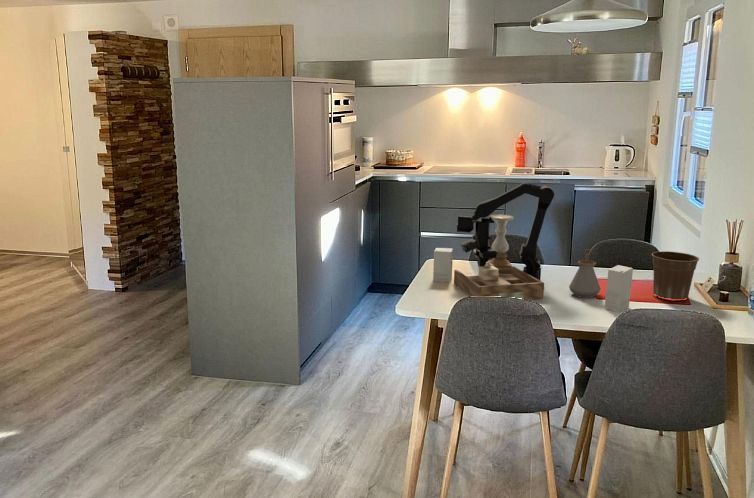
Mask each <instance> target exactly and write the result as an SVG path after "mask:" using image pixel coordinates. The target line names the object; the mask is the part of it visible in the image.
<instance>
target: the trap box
mask: <svg viewBox="0 0 754 498" xmlns="http://www.w3.org/2000/svg"><path fill="white" fill-rule="evenodd" d="M453 270H454V272H453V285H454V286H456V287H457V288H458V287H459V288H458V289H459V290H461V291H462V292H464V294H466V293H467V294H468V295H467V294H466V295H467V296H469V297H470V296H501V297H515V298H522V299H526V300H538V299H539V300H540V299H544V293H545V282H544V281H542V280H541V279H540V280H538V279H536V278H535V277H533V276H531V275H529V274H527V273H526V272H524V271H523V270H521V268H518V267H517V266H514V265H513V266H512V274H498V279H493V280H483V279H482V278H480V277H479V276H478V275H465V274H464V273H463V272H461V271H459V269H453Z"/></svg>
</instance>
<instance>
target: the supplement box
mask: <svg viewBox="0 0 754 498" xmlns="http://www.w3.org/2000/svg"><path fill="white" fill-rule="evenodd" d="M453 252H454V248H451V247H450V248H449V247H435V248H434V251H433V268H432V269H433V271H432V272H433V273H432V275H433V276H432V281H433V282H443V283H445V282H447V283H451V281H452V278H453V256H454V255H453Z"/></svg>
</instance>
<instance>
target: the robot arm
mask: <svg viewBox="0 0 754 498" xmlns="http://www.w3.org/2000/svg"><path fill="white" fill-rule="evenodd" d="M524 194H527V195H530V196H533V197H536V198H537V199H536V200H537V201H536V209H535V212H534V216H533V220H532V223H531V228H530V230H529V234H528V238H527V240H526V242H525V243H521V247H520V250H519V256H520V260H521V261H520V262H521V263H522V264H524V265H525V266H523V270H522V271H524V272H526V273H527V274H529V275H531V276H533V277H535V278H536V279H538V280H540V281H541V276H542V275H541V274H542V267H541V262H540V259H538V258H537V248H538V247H537V246H538V241H539V238H540V234H541V230H542V227H543V223H544V219H545V216H546V214H547V210H548V209H549V207H550V205H551V203H552V202H553V199H554V197H555V192H554V190H553V188H552V187H550V186H548V185H543V186H540V185H537V184H531V183H528V182H525V181H524V182H523V181H522V182H521V184H519V185H517V186H515V187H513V188H511V189H510V190H508V191H506V192H503V193H502V194H500V195H497V196H496V197H493V198H489V199H487V200H483V201H480V202H479V203H478V204H476V208H475V211H474V212H473V213H472V214H471V216H470V215H469V216H468V215H467V216H465V215H458V216H457V223H456V233H464V234H465V233H470V234H471V232H472V231H474V234H473V235H472V238H470V239H468V240H465V241H463V242H461V243H460V246H461V249H462V251H463V252H465V253H470V252H471V251H473V252H471V254H472V255H473V256H474V257H475V259H476V262H477V266H478V267H477V268H479V267H480V266H485V265H486V263H487V261H488V260H489V259H493V258H497V252H496V251H495V250H493V249H492V245H490V240H491V239H492V236H491V235H490V227H491V224H495V220H493V219H492V217H491V215H492V214H493V213H494V212H495V211H496V210H498V208H500V207H502V206H503V205H506V204H508V203H510V202H512V201H514V200H515V199H517V198H520V196H523V195H524ZM474 227H475V228H474ZM474 229H475V230H474Z"/></svg>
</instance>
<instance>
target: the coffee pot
mask: <svg viewBox="0 0 754 498" xmlns="http://www.w3.org/2000/svg"><path fill="white" fill-rule="evenodd" d="M591 252H592V251H591V250H590V249H589V248H586V249H585V255H584V256H585V258H584V260H579V261H577V263H578V266H579V267H578V269H577V271H576V272H575V274H574V276H573V278H572V280H571V282H570V283H569V286H568V287H569V290H570V292H571V293H572V294H573V296H575V297H578V298H584V299H588V298H589V299H591V298H595V297H594V296H597V295H598V294H600V292H601V290H602V289H601V286H600V284H599V280H598V277H597V275H596V272H595V269H594V268H595V266H596V265H597V262H595V261H593V260H592V261H591V260H589V257H590V255H589V253H591Z"/></svg>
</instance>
